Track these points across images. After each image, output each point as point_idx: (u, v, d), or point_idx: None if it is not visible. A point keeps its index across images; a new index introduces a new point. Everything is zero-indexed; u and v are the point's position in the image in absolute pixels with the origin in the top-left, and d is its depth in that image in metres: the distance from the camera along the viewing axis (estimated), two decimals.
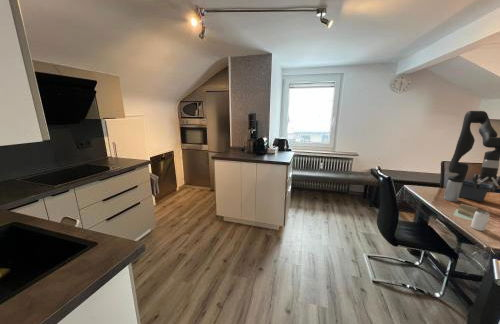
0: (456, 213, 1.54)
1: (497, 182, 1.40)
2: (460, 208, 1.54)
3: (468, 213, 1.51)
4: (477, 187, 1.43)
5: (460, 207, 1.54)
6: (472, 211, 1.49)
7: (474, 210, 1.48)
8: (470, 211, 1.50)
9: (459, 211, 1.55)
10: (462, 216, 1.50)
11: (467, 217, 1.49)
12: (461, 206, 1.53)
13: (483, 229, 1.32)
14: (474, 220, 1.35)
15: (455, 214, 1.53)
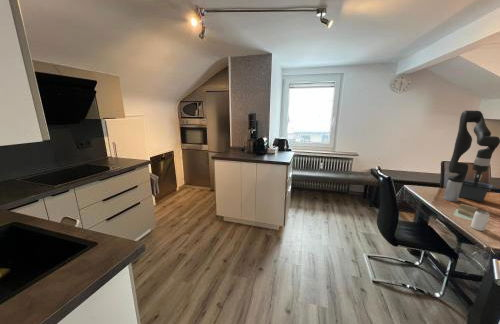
0: (456, 213, 1.54)
1: None
2: (460, 208, 1.54)
3: (468, 213, 1.51)
4: (476, 185, 1.48)
5: (460, 207, 1.54)
6: (472, 211, 1.49)
7: (474, 210, 1.48)
8: (470, 211, 1.50)
9: (459, 211, 1.55)
10: (462, 216, 1.50)
11: (467, 217, 1.49)
12: (461, 206, 1.53)
13: (483, 229, 1.32)
14: (474, 220, 1.35)
15: (455, 214, 1.53)
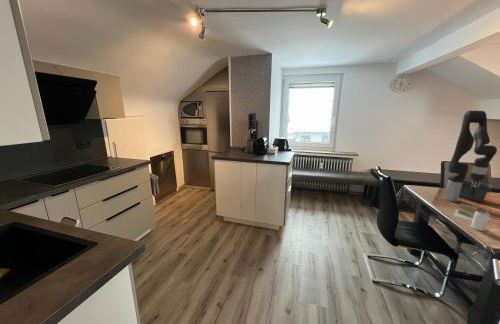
0: (456, 213, 1.54)
1: None
2: (460, 208, 1.54)
3: (468, 213, 1.51)
4: (474, 193, 1.52)
5: (460, 207, 1.54)
6: (472, 211, 1.49)
7: (474, 210, 1.48)
8: (470, 211, 1.50)
9: (459, 211, 1.55)
10: (462, 216, 1.50)
11: (467, 217, 1.49)
12: (461, 206, 1.53)
13: (483, 229, 1.32)
14: (474, 220, 1.35)
15: (455, 214, 1.53)
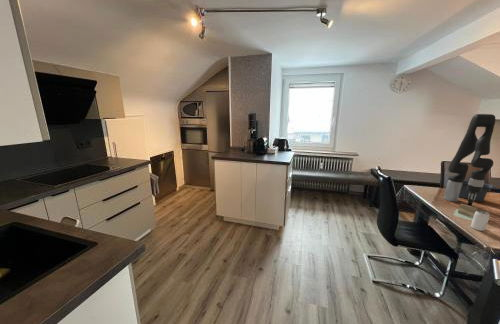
0: (456, 213, 1.54)
1: None
2: (460, 208, 1.54)
3: (468, 213, 1.51)
4: None
5: (460, 207, 1.54)
6: (472, 211, 1.49)
7: (474, 210, 1.48)
8: (470, 211, 1.50)
9: (459, 211, 1.55)
10: (462, 216, 1.50)
11: (467, 217, 1.49)
12: (461, 206, 1.53)
13: (483, 229, 1.32)
14: (474, 220, 1.35)
15: (455, 214, 1.53)
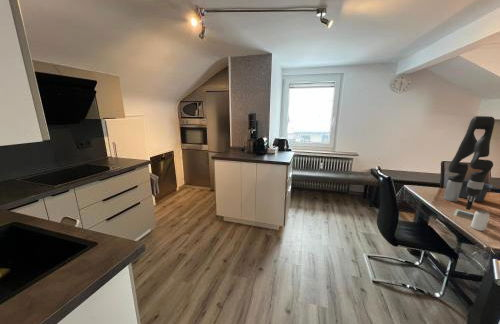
0: (456, 213, 1.54)
1: None
2: None
3: None
4: None
5: None
6: None
7: None
8: None
9: None
10: None
11: None
12: None
13: (483, 229, 1.32)
14: (474, 220, 1.35)
15: (455, 214, 1.53)
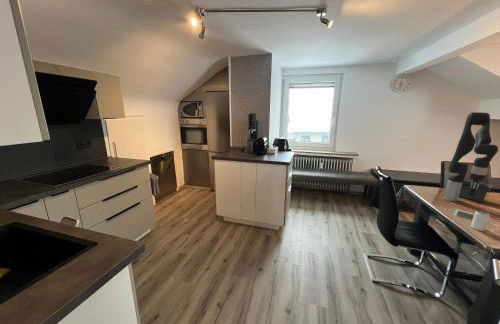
0: (456, 213, 1.54)
1: None
2: None
3: None
4: (473, 194, 1.45)
5: None
6: None
7: None
8: None
9: None
10: None
11: None
12: None
13: (483, 229, 1.32)
14: (474, 220, 1.35)
15: (455, 214, 1.53)
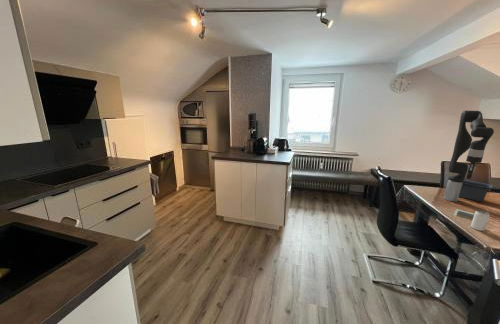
0: (456, 213, 1.54)
1: None
2: None
3: None
4: (470, 177, 1.50)
5: None
6: None
7: None
8: None
9: None
10: None
11: None
12: None
13: (483, 229, 1.32)
14: (474, 220, 1.35)
15: (455, 214, 1.53)
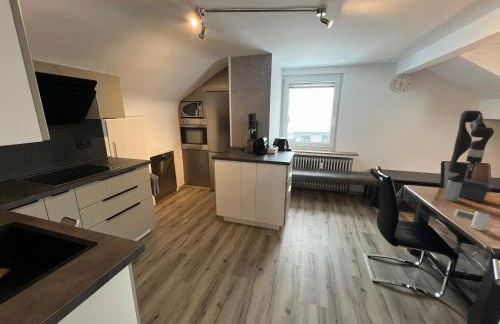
0: (456, 213, 1.54)
1: None
2: None
3: None
4: (470, 177, 1.50)
5: None
6: None
7: None
8: None
9: None
10: None
11: None
12: None
13: (483, 229, 1.32)
14: (474, 220, 1.35)
15: (455, 214, 1.53)
